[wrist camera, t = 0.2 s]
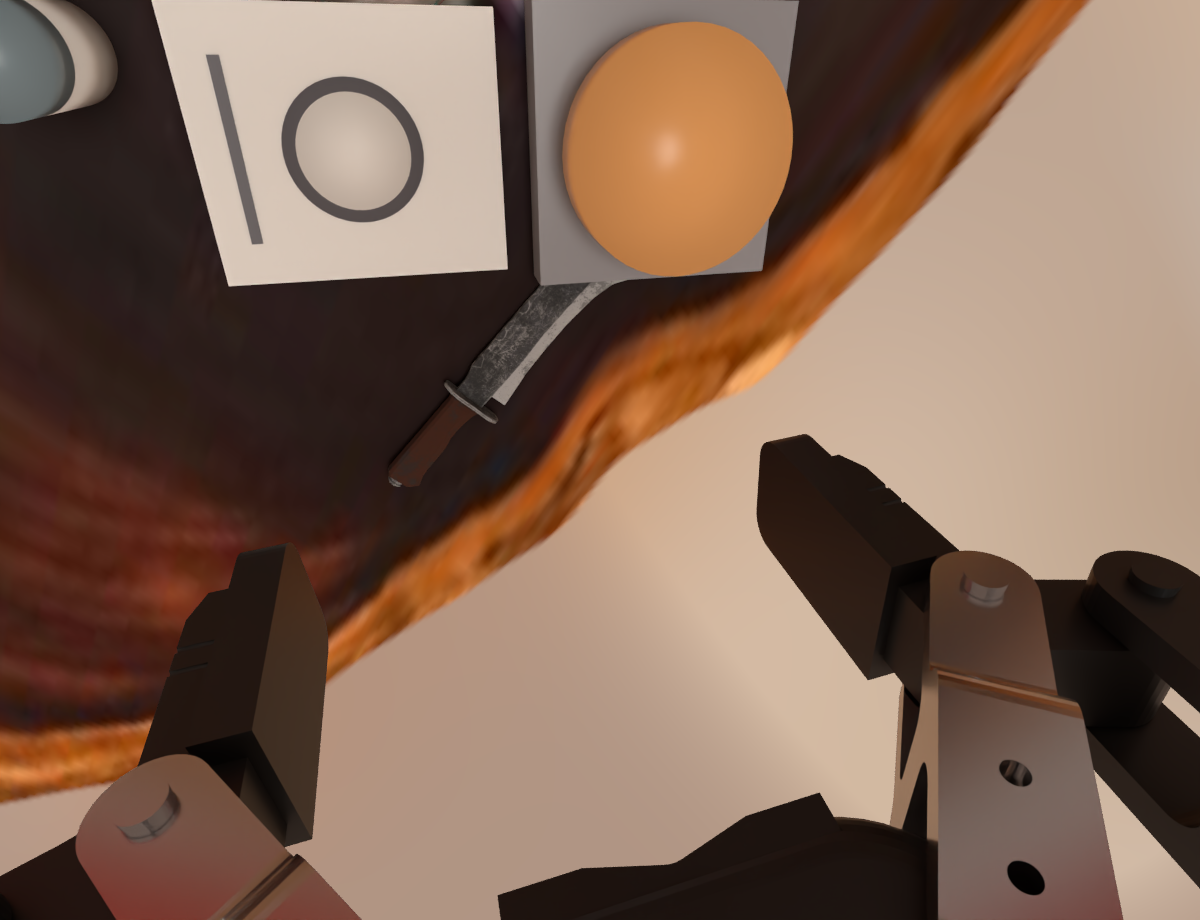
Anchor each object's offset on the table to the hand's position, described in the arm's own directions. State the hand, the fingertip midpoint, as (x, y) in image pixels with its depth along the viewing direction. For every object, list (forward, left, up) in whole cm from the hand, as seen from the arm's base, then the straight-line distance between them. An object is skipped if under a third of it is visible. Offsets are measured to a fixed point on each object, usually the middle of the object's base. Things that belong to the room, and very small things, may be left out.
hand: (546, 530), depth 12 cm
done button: (-3, +11, -25) cm, 28 cm away
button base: (-2, +11, -29) cm, 31 cm away
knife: (+7, +5, -29) cm, 30 cm away
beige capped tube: (-6, -15, -29) cm, 33 cm away
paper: (-2, -4, -29) cm, 29 cm away
